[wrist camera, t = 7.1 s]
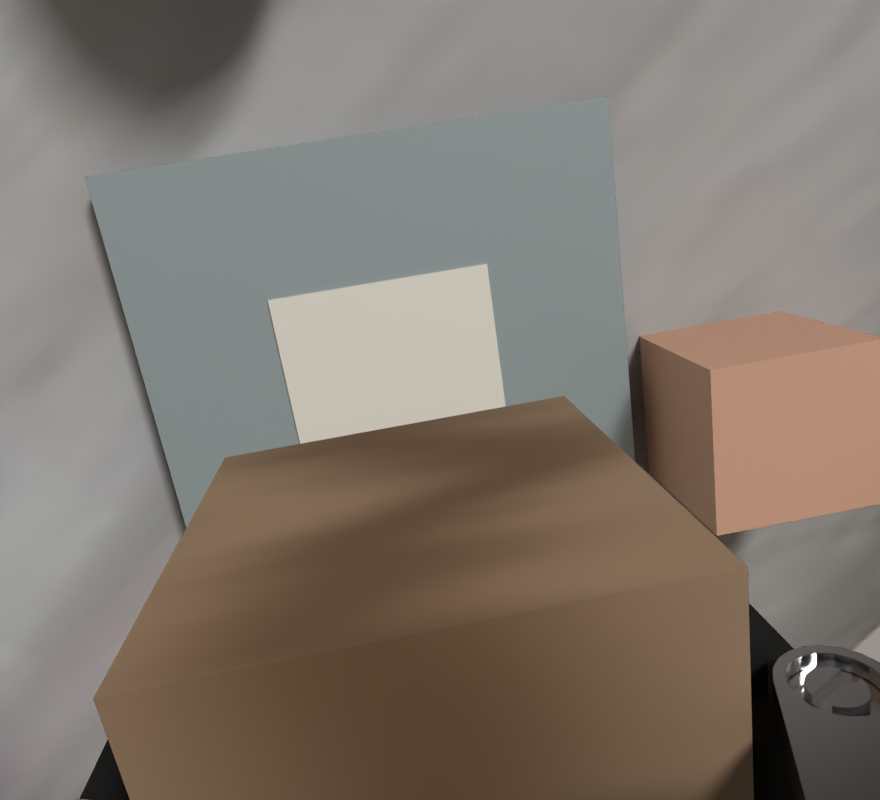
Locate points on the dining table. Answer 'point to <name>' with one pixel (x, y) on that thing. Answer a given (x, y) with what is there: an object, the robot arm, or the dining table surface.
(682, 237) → the dining table surface
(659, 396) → the terracotta block
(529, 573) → the walnut block
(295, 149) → the board
